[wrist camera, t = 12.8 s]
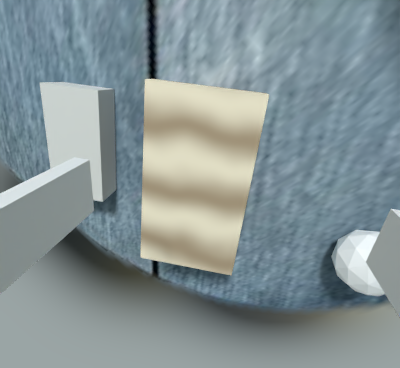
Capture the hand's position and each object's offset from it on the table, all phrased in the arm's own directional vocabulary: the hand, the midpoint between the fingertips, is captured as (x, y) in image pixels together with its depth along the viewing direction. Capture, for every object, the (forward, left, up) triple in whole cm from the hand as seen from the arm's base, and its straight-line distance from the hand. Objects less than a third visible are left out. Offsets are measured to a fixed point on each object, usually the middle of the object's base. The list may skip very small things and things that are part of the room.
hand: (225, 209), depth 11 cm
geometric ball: (+14, +19, -22) cm, 32 cm away
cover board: (+6, -3, -16) cm, 17 cm away
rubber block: (+5, -19, -22) cm, 29 cm away
